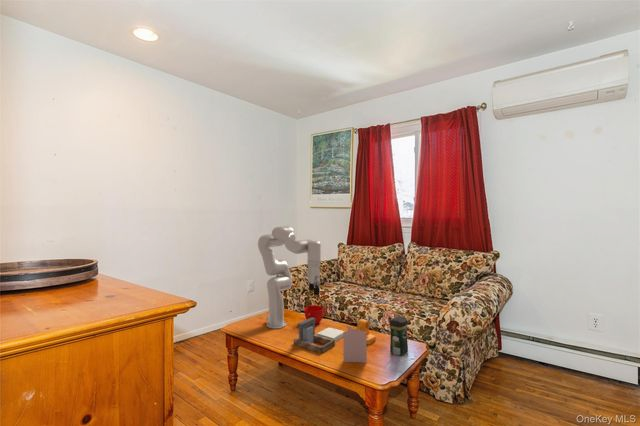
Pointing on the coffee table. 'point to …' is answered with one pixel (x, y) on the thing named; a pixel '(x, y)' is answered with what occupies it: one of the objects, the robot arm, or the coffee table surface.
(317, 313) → the ceramic cup
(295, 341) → the rack
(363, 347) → the greeting card
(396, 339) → the coffee jar
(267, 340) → the coffee table surface
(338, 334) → the plinth
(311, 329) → the block
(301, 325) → the grey arch
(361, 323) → the bracket
